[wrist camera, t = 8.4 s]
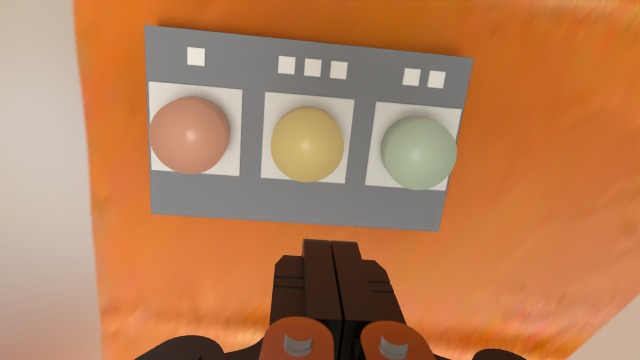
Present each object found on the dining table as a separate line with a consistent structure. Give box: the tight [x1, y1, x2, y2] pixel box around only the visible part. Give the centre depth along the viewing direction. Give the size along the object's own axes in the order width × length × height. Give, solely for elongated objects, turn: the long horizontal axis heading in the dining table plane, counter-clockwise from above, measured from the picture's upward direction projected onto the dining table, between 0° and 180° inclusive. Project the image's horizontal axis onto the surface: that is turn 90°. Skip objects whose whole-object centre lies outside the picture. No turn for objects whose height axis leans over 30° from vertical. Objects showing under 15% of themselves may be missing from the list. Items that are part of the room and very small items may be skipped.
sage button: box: [381, 116, 457, 190], centre depth 26 cm, size 4×4×2 cm
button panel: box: [144, 25, 474, 232], centre depth 28 cm, size 20×12×3 cm, turn 85°
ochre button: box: [271, 107, 344, 182], centre depth 25 cm, size 4×4×2 cm
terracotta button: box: [149, 96, 230, 174], centre depth 25 cm, size 4×4×2 cm
